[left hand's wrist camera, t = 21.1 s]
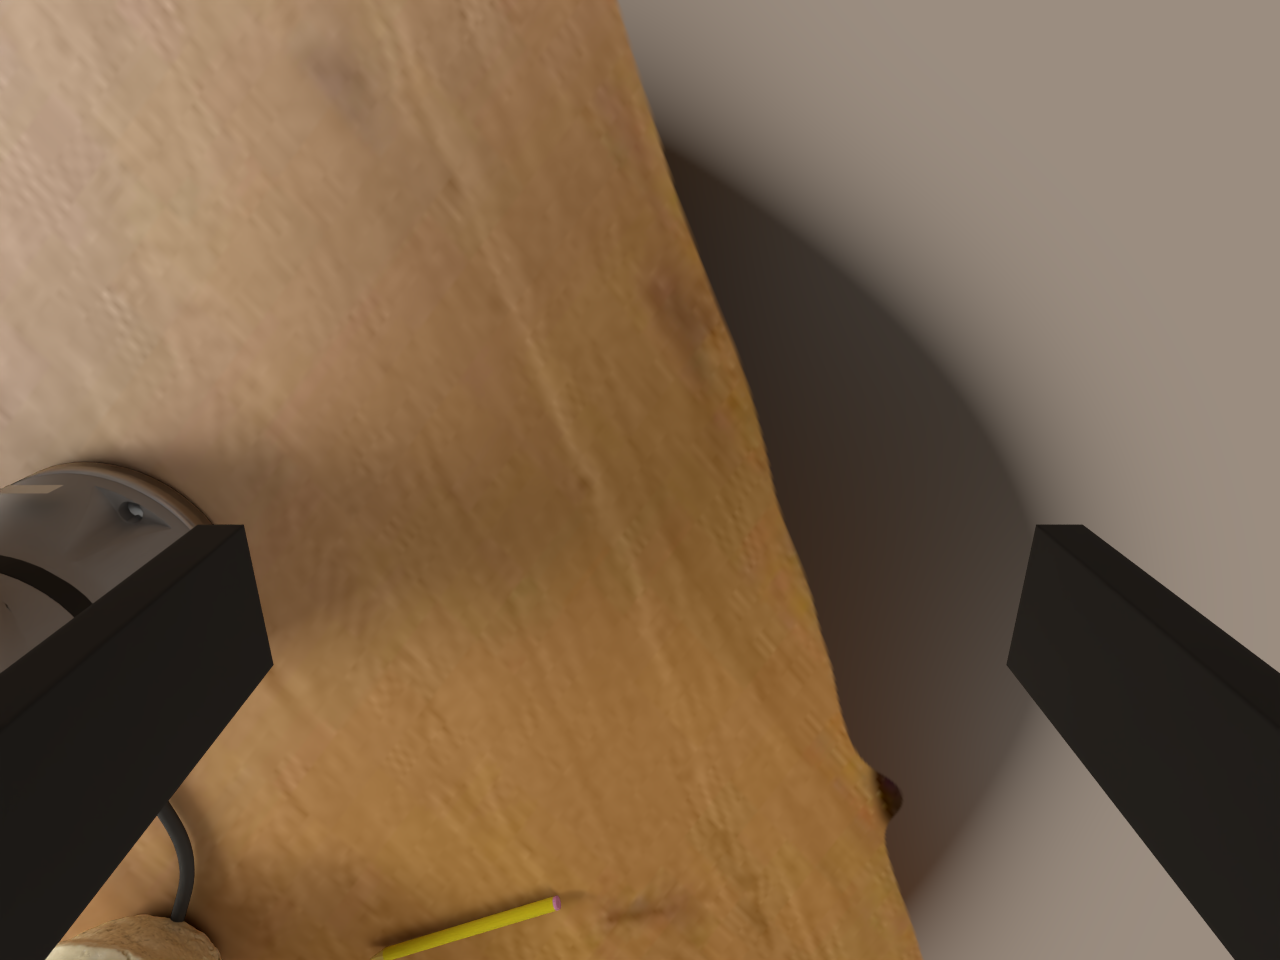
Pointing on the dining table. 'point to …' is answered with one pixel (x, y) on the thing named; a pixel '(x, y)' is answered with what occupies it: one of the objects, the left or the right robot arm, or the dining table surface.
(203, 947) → the bowl
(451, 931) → the pencil
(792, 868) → the dining table surface
